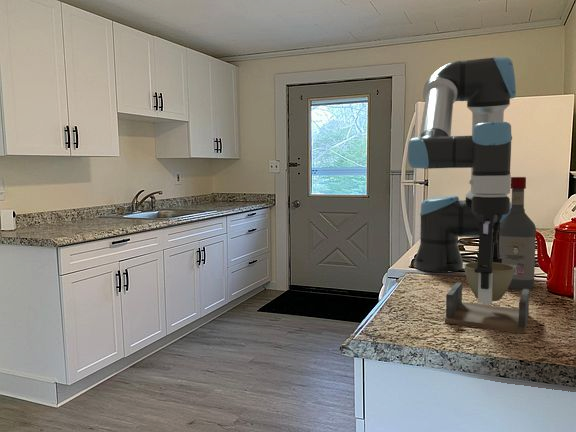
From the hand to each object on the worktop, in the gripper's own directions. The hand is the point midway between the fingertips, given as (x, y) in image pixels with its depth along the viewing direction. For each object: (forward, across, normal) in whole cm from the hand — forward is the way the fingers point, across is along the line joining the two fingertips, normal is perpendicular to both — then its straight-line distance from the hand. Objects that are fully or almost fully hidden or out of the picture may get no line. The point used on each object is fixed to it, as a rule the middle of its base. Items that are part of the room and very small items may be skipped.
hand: (488, 297), depth 104 cm
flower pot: (0, 0, 0) cm, 0 cm away
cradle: (+5, 0, 0) cm, 5 cm away
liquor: (+5, -33, +3) cm, 34 cm away
